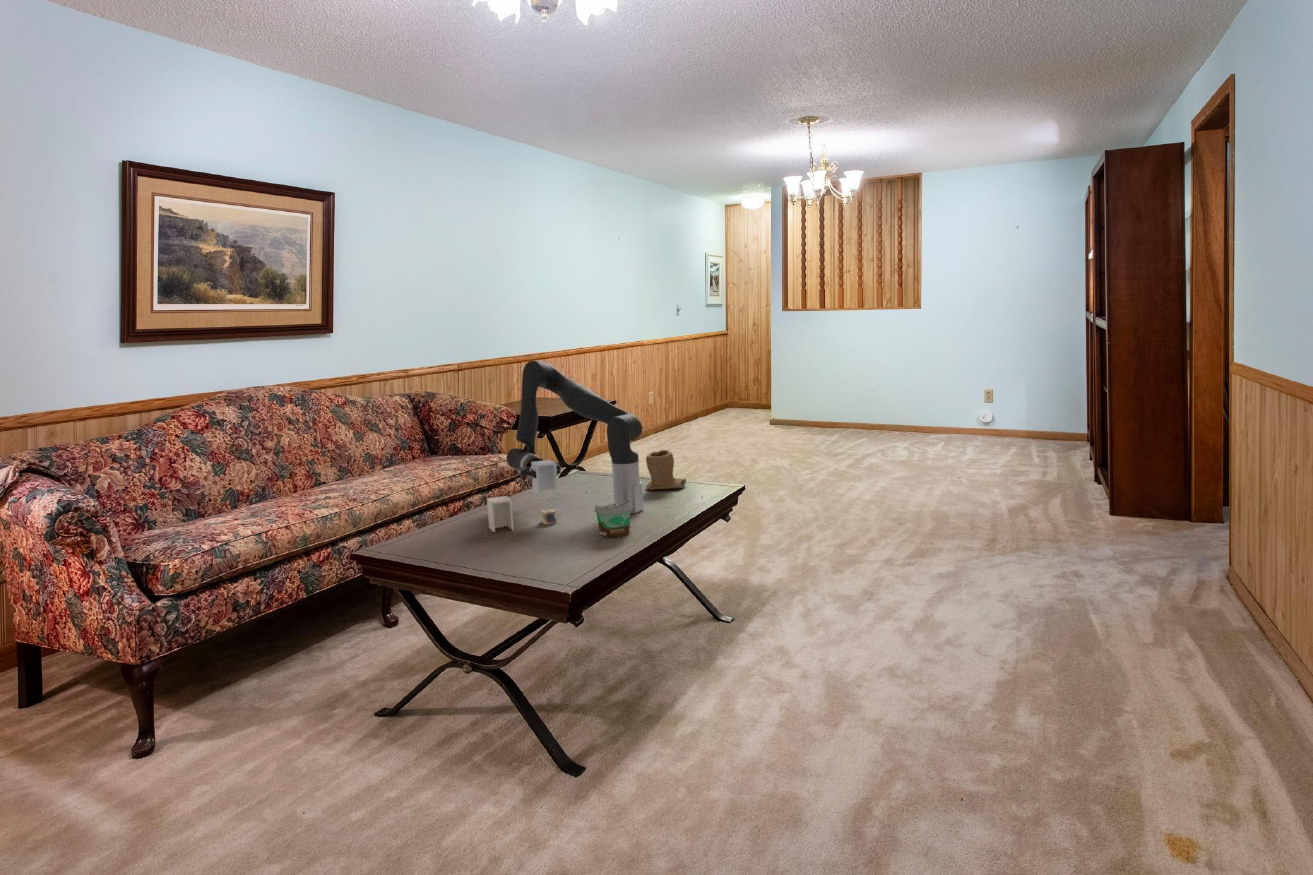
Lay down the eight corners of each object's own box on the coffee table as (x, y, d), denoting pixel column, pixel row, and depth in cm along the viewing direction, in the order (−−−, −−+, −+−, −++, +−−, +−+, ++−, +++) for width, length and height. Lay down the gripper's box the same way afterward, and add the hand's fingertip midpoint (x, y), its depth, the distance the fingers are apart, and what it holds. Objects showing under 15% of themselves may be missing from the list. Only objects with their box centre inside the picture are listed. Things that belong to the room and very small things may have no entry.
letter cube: (553, 520, 284) (552, 509, 284) (556, 523, 280) (556, 511, 280) (541, 522, 283) (541, 510, 282) (545, 524, 279) (544, 513, 278)
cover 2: (552, 488, 286) (550, 459, 284) (557, 492, 280) (556, 462, 278) (533, 491, 283) (531, 461, 282) (538, 495, 277) (536, 465, 276)
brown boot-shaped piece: (644, 493, 320) (642, 453, 318) (648, 486, 332) (646, 448, 330) (684, 492, 318) (682, 452, 316) (686, 485, 330) (685, 447, 328)
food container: (604, 541, 255) (602, 509, 253) (595, 537, 260) (593, 505, 259) (640, 534, 260) (639, 503, 259) (631, 530, 266) (630, 499, 264)
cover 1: (509, 525, 280) (507, 495, 278) (513, 530, 274) (511, 499, 272) (489, 528, 277) (487, 498, 276) (493, 532, 271) (491, 502, 270)
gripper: (511, 457, 290) (524, 465, 275) (552, 453, 296) (566, 460, 281) (513, 478, 292) (525, 487, 276) (553, 474, 297) (567, 482, 282)
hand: (546, 473), depth 279 cm, fingers closed on cover 2, 6 cm apart
